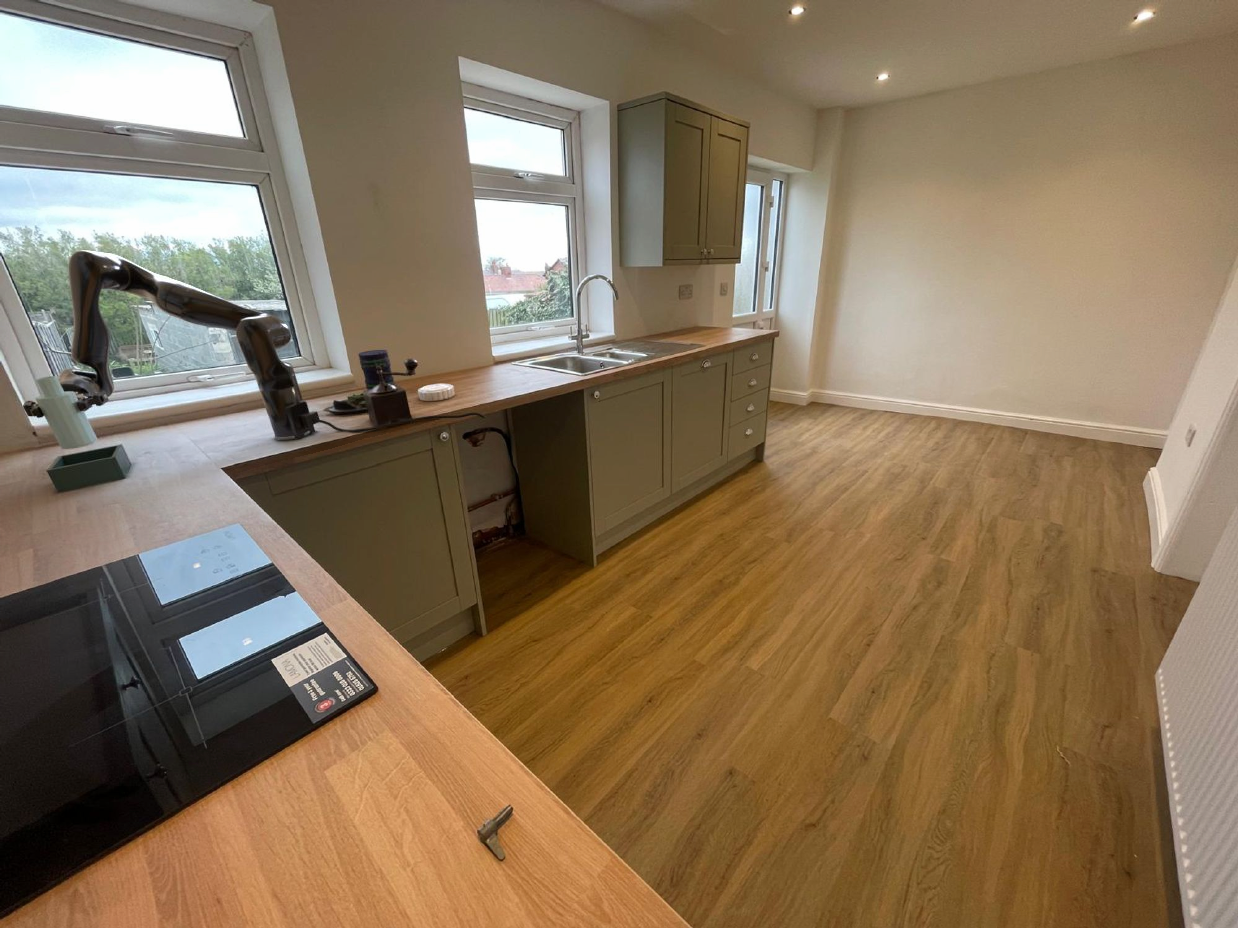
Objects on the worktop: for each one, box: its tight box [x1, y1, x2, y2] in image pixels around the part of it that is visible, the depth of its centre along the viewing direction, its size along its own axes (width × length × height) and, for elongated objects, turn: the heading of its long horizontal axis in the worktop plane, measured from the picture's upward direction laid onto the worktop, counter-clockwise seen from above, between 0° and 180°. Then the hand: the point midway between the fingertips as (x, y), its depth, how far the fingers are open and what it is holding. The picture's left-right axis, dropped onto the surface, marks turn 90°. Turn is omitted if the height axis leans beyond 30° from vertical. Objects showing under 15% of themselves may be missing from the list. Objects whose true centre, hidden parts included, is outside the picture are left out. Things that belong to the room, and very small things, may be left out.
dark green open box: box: [45, 443, 132, 493], centre depth 121 cm, size 12×12×6 cm
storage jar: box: [357, 349, 396, 390], centre depth 183 cm, size 10×10×15 cm
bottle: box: [34, 375, 99, 450], centre depth 115 cm, size 6×6×16 cm
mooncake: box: [417, 382, 455, 402], centre depth 176 cm, size 12×12×4 cm
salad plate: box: [322, 392, 368, 417], centre depth 168 cm, size 19×18×5 cm
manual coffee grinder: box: [362, 358, 419, 427], centre depth 152 cm, size 16×11×18 cm
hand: (59, 410), depth 113 cm, fingers closed on bottle, 6 cm apart
